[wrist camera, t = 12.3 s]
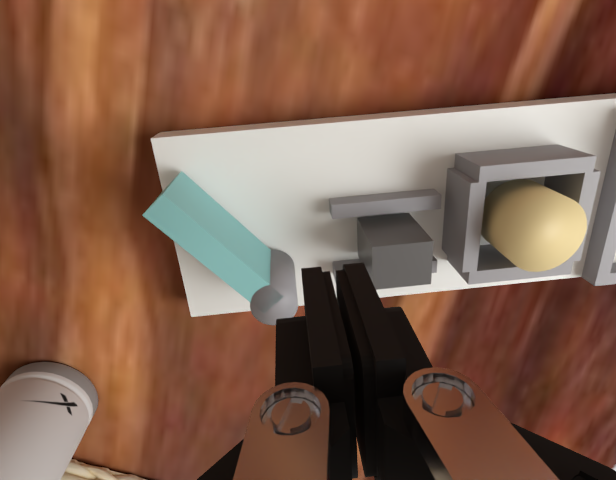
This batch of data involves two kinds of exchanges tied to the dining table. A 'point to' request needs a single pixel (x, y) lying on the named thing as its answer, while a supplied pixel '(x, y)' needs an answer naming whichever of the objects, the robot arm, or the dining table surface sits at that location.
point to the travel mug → (43, 420)
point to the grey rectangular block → (394, 250)
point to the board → (415, 190)
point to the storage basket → (93, 473)
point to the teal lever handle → (227, 248)
